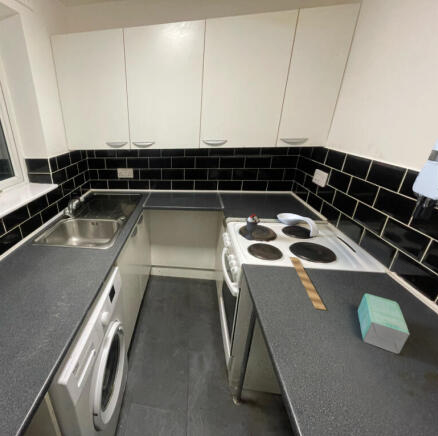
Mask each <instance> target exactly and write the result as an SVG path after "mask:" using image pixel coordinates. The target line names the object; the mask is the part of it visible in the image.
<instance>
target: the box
mask: <svg viewBox="0 0 438 436" xmlns="http://www.w3.org/2000/svg"><path fill="white" fill-rule="evenodd" d="M357 315H358V321H359V325H360V326H359V327H360V331H361V336H362V337H361V338H362V341H363V342H364V343H366V344H369V345H371V346H374V347H377V348H379V349H382V350H384V351H387V352H391V353H393V354H397V355H399V354H400V353H401V351H402V350H403V348H404V346H405V344H406V342H407V341H408V339H409V338H410V335H411V333H410V331H409V329H408V325H407V323H406V319H405V318H404V315H403V312H402V310H401V307H400V304H399V303H398V302H397V301H394V300H391V299H388V298H386V297H385V298H384V297H381V296H377V295H374V294H370V293H364V294H363V296H362V299H361V301H360V303H359V305H358V309H357Z"/></svg>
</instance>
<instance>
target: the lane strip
mask: <svg viewBox="0 0 438 436" xmlns="http://www.w3.org/2000/svg"><path fill="white" fill-rule="evenodd" d="M289 260H290V261H291V263H292V266H293V267H294V269H295V271H296V273H297V275H298V278H299V279H300V282H301V283H302V286H303V287H304V289H305V291H306V293H307V296H308V297H309V299H310V301H311V303H312V305H313V308H314V309H315V310H320V311H327V308H326V307H325V305H324V302H323V301H322V299H321V297H320V296H319V294H318V292H317V290H316V288H315V287H314V285H313V283H312V281H311V279H310V277H309V275H308V274H307V272H306V270H305V269H304V267H303V265H302V263H301V262H300V261H301V260H300V259H299V257H295V256H289Z"/></svg>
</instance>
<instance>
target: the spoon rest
mask: <svg viewBox="0 0 438 436" xmlns="http://www.w3.org/2000/svg"><path fill="white" fill-rule="evenodd" d="M276 216H277V219H278V220H279V221H280V222H281V223H283V224H285V225H288V226H293V225H297V224H299V223H300V222H306V223H307V224H308V225H309V227H310V233H309V237H311V238H312V237H318V236H319V235H320V231H319V230H320V229H319V227H318V225H317V224H316V222H315V221H314V220H313V219H311V218H310V217H307V216H306V217H305V216H302V215H299V214H297V213H296V214H295V213H288V212H284V213H283V212H282V213H279V214H277V215H276Z"/></svg>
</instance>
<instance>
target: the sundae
mask: <svg viewBox="0 0 438 436" xmlns="http://www.w3.org/2000/svg"><path fill="white" fill-rule="evenodd" d="M245 221H246V231H248V232H249V233H248V234H247V235H244V239H245V240H248V241H254V240H256V238H255V237H254V236H253V235H252V233H254V232H255V231H256V229H257V227H258V224H260V222H261V219H260V216H258V214H254V211H252V212H251V214H250V216H249V217H246V218H245Z"/></svg>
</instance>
